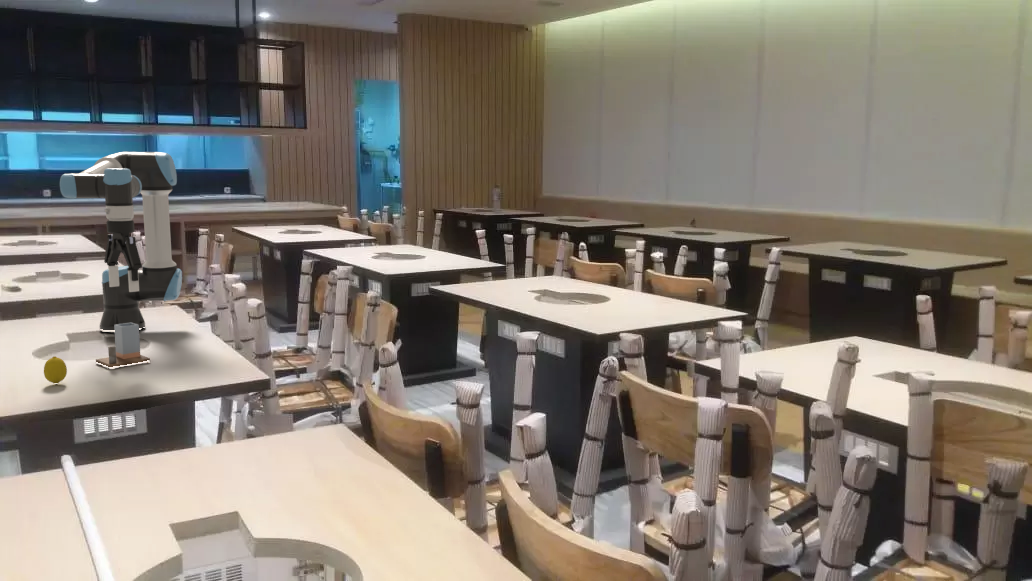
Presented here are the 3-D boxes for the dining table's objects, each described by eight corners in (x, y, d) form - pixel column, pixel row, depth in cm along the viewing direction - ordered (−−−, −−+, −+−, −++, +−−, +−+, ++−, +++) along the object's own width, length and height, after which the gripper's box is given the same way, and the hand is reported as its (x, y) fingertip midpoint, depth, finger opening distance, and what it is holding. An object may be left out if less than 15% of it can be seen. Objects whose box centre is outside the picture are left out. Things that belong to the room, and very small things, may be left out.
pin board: (135, 357, 257) (134, 337, 256) (150, 362, 250) (149, 342, 249) (96, 364, 248) (94, 343, 247) (110, 369, 241) (108, 348, 240)
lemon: (44, 388, 221) (42, 359, 220) (45, 383, 226) (43, 355, 225) (67, 385, 224) (65, 357, 222) (67, 381, 228) (66, 353, 227)
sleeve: (132, 353, 256) (131, 322, 254) (140, 356, 252) (138, 324, 251) (116, 356, 252) (114, 324, 250) (123, 359, 248) (121, 327, 247)
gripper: (89, 217, 251) (94, 285, 254) (125, 222, 235) (130, 295, 238) (114, 217, 256) (118, 283, 260) (151, 221, 240) (155, 292, 244)
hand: (124, 289), depth 249 cm, fingers open, 13 cm apart
